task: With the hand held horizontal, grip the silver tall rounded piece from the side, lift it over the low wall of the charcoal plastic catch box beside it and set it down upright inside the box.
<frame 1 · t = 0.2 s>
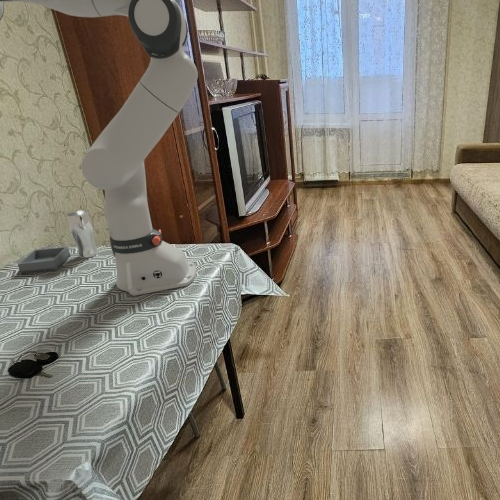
catch box: (46, 264, 123), on the table
silver tall rounded piece: (88, 255, 128), on the table
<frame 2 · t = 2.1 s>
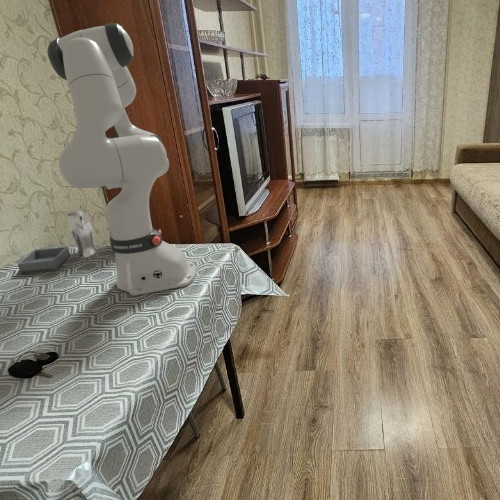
hand: (98, 184, 126), 22 cm above the table, tool horizontal, fingers open, 8 cm apart
nothing on the table moved.
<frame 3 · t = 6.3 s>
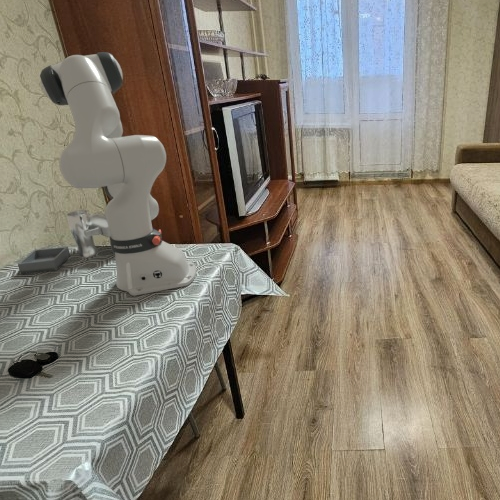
hand: (79, 232, 124), 9 cm above the table, tool horizontal, fingers closed on silver tall rounded piece, 6 cm apart
silver tall rounded piece: (88, 255, 128), on the table, touching gripper
when the fingers open (11 cm above the table, at t = 11.2 s): silver tall rounded piece moves 2 cm, point 1 cm above the table.
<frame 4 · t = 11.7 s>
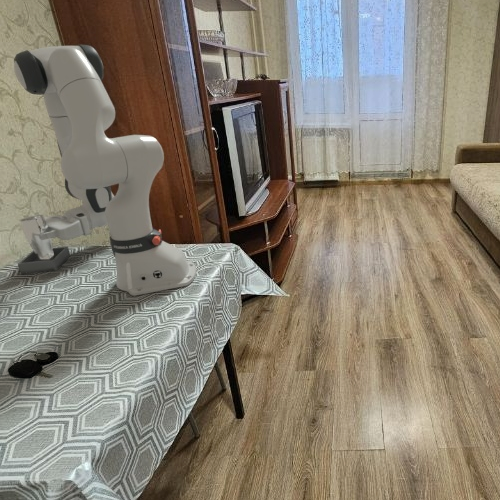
hand: (33, 234, 118), 11 cm above the table, tool horizontal, fingers open, 8 cm apart
silver tall rounded piece: (48, 262, 122), point 1 cm above the table, touching gripper
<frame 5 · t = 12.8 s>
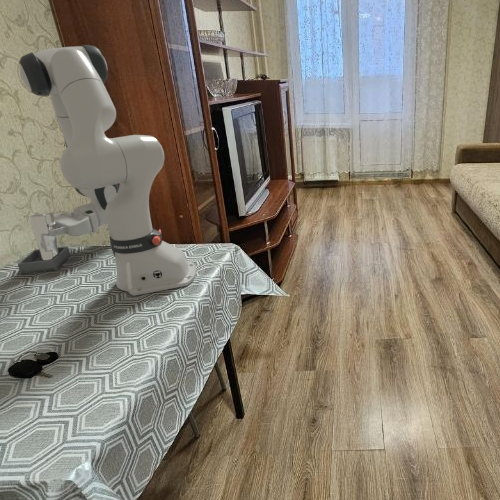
hand: (43, 231, 120), 11 cm above the table, tool horizontal, fingers open, 8 cm apart
silver tall rounded piece: (51, 260, 123), point 1 cm above the table, touching catch box, gripper
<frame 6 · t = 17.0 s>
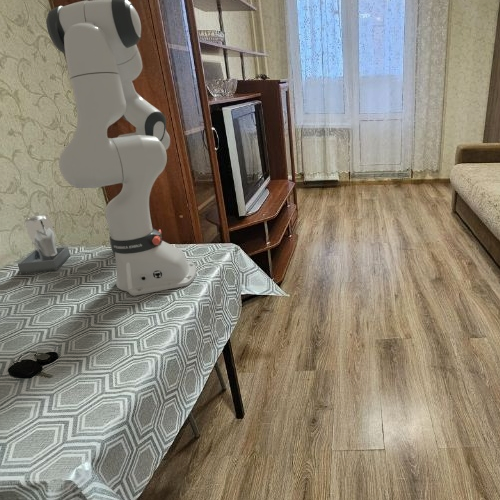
hand: (89, 154, 121), 32 cm above the table, tool horizontal, fingers open, 8 cm apart
silver tall rounded piece: (51, 261, 123), point 1 cm above the table, touching catch box
at the end: silver tall rounded piece 1.9 cm off-centre on the catch box, point 0.9 cm above the catch box's base; silver tall rounded piece tilted 1°; the gripper is holding nothing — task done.
